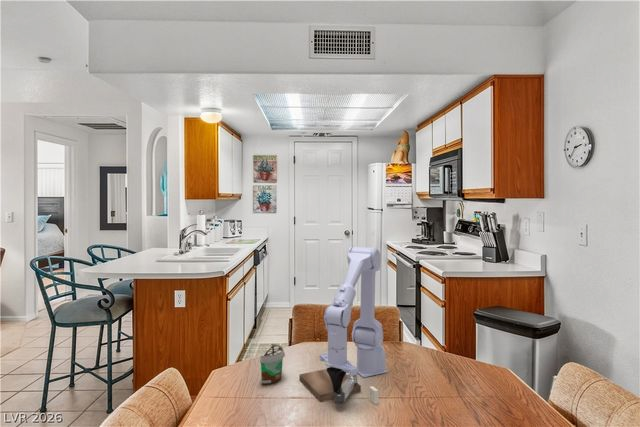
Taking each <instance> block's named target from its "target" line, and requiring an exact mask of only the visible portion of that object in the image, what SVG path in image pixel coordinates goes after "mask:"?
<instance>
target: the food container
mask: <svg viewBox="0 0 640 427" xmlns="http://www.w3.org/2000/svg"><path fill="white" fill-rule="evenodd" d="M285 357H286V353H285V350H284V348H283V346H281V345H280V344H276V343H271V347H270V348H268V350H266V351H265V353H264V354H263V355H260V358H259V359H260V360H259V363H260V372H261V373H260V374H261V386H271V385H276V384H278V383H280V382H281V381H282V379H283V378H282V377H283V376H282V375H283V374H282V373H283V361H284V360H283V359H284V358H285Z"/></svg>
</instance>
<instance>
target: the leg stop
mask: <svg viewBox="0 0 640 427" xmlns="http://www.w3.org/2000/svg"><path fill="white" fill-rule="evenodd" d="M368 390H369V392H368V395H369V396H368V399H369V402H370V403H372V404H374V405H378V404H379V389H377V388H376V387H375V386H373V385H372V386H369V389H368Z"/></svg>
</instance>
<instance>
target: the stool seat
mask: <svg viewBox="0 0 640 427" xmlns="http://www.w3.org/2000/svg"><path fill="white" fill-rule="evenodd" d="M298 374H299V373H298ZM347 375H348V373H346V374H345V376H344V379H343V381H342V385H343V383H344V382H345V381H346V379H347ZM299 382H301V383H302V385H303V386H304V387H306V389H307V390H308V391H309V392H310V393H311V394H312V395H313V396H314V397H315V398H316V399H317V401H319V402H321V403H322V402H325V400H326V401H328V400H329V399H330V400H333V399H334V393H335V392H334V391H333V385H332V381H331V378H330V376H329V374H328V372H327V368H325V369H320V370H314V371H309V372H305V373H301V374H299ZM342 385H341V386H342ZM361 389H362V385H361V384H359V383H358V382H357V385H356V386H354V388H353V389H352V390H351V392H350V393H349V395H355V394H359V393H361V392H362V390H361ZM349 395H348V396H349Z"/></svg>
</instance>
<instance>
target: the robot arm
mask: <svg viewBox="0 0 640 427" xmlns="http://www.w3.org/2000/svg"><path fill="white" fill-rule="evenodd" d="M346 258H347V264H348V268H347V271H346V275H345V277H344V281H343V283H342V284H340V285H339V286H338V288H337V290H336V292H335V295H334V298H333V300H332V302H331V304H330V305H329V306H327V307H326V308H325V311H324V316H323V322H324V324H325V330H326V331H327V353H325V352H324V353H320V354H319V361H320V362H325V364H324V365H325V366H326V367H327V368H326V369H327V372H328V374H329V376H330V378H331V381H332V385H333V391H334V392H337V391H338V390H339V389H340V387H341V385H342V381H343V379H344V376H345V374H348V375H350V376H354V375H357V374H359V375H360V376H361V377H362V378H369V377H372V376H377V375H381V374H384V373H387V370H386V350H385V348H384V346H383V345H382V344H383V341H384V332H383V325H382V323H381V322H380V321H379V320H377V319H376V318H375V310H376V308H375V306H376V305H375V303H376V272H377V271H380V270H381V269H380V268H381V252H380V251H379V249H378V247H366V246H365V247H364V246H354V245H352V246H350V247H349V249H348V251H347V257H346ZM359 279H361V280H360V308H359V311H360V312H359V313H360V316H359V318H358V319H356V320H355V321H354V322H353V326H352V331H351V340H352V342H353V343H354V344H355V347H356V366H354V365H353V364H352V363H351V362H350V361H349V360H348V326H349V325H350V323H351V318H352V317H351V316H352V305H353V303H354V299H355V297H356V295H357V292H356V289H355V288H356V286H357V283H358V282H359Z"/></svg>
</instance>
